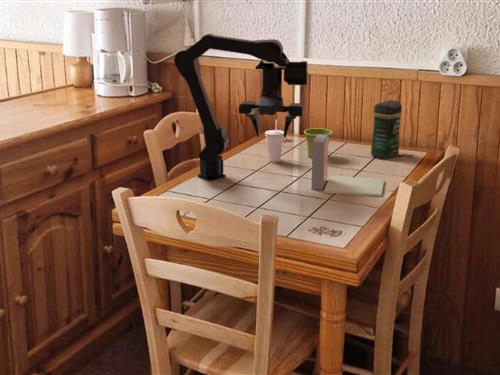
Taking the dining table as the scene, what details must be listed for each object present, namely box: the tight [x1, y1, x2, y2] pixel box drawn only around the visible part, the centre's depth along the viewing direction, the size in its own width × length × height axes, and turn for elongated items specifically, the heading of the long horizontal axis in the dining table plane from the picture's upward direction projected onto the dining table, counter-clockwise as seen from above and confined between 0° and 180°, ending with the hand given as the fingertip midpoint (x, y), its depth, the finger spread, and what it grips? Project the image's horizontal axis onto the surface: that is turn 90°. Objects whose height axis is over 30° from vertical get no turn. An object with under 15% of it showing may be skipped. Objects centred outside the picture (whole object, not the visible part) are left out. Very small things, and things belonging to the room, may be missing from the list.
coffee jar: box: [370, 99, 403, 160], centre depth 226 cm, size 10×8×19 cm
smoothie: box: [264, 118, 284, 163], centre depth 221 cm, size 6×6×14 cm
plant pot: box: [303, 127, 333, 159], centre depth 226 cm, size 9×9×9 cm
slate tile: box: [311, 134, 330, 190], centre depth 198 cm, size 3×9×14 cm, turn 166°
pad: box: [323, 175, 385, 197], centre depth 198 cm, size 16×14×1 cm
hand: (271, 137), depth 201 cm, fingers open, 8 cm apart
